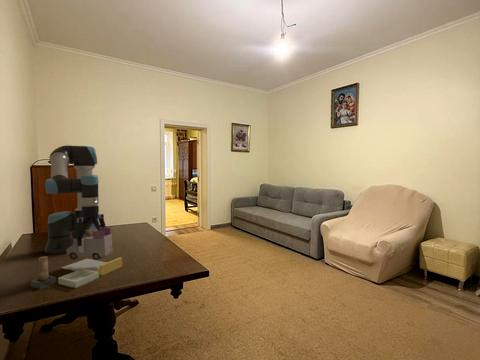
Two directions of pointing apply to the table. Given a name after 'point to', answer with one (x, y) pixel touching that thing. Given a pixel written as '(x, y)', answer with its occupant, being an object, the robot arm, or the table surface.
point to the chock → (110, 266)
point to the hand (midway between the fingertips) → (91, 249)
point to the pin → (43, 268)
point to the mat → (85, 265)
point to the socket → (46, 283)
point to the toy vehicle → (93, 244)
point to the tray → (78, 278)
